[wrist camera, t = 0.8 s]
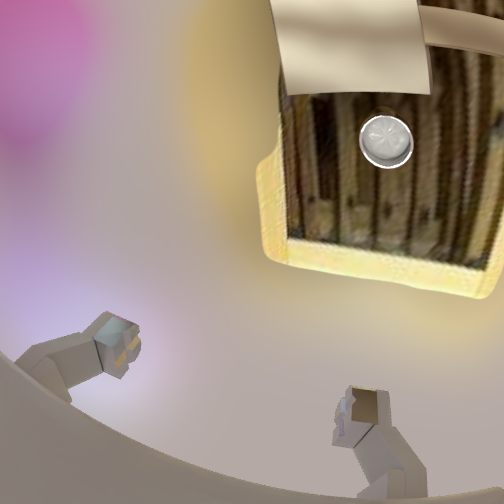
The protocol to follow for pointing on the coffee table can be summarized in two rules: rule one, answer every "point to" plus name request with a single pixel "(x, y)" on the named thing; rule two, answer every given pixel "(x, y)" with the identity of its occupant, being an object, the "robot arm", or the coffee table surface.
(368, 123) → the beer glass
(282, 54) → the beige t-shaped block
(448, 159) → the coffee table surface
